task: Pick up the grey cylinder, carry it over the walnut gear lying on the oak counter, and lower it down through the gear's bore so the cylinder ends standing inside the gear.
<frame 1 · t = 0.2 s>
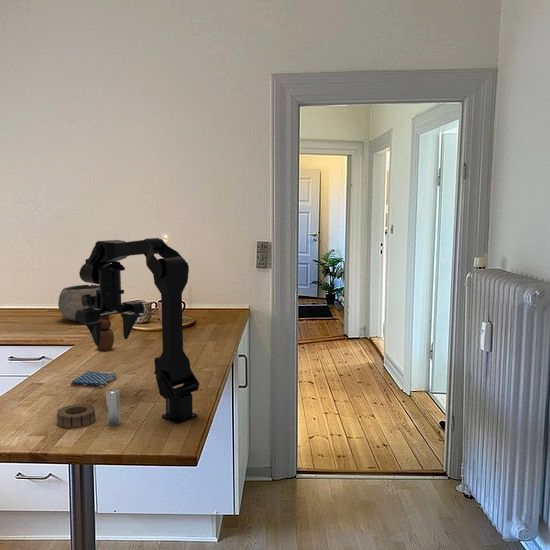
hand: (111, 342, 153), 14 cm above the worktop, fingers open, 9 cm apart
clay pot: (84, 320, 244), on the worktop
wooden figurine: (104, 349, 198), on the worktop
woven mat: (94, 384, 164), on the worktop
grey cylinder: (113, 423, 134), on the worktop
walnut gear: (76, 420, 135), on the worktop
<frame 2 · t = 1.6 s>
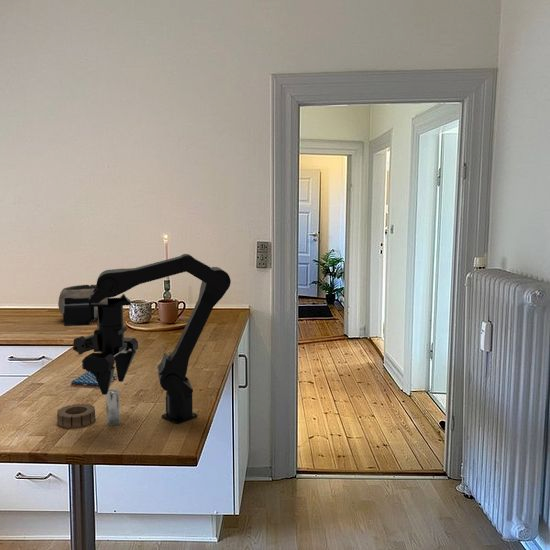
hand: (113, 387, 133), 9 cm above the worktop, fingers open, 9 cm apart
nothing on the worktop moved.
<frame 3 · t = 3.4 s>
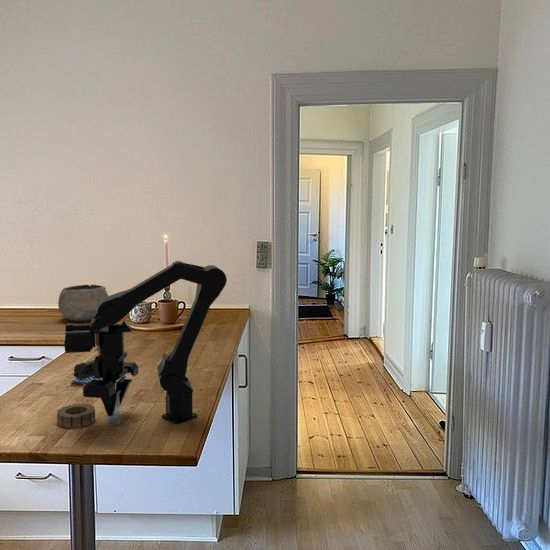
hand: (113, 413, 134), 3 cm above the worktop, fingers closed on grey cylinder, 3 cm apart
grey cylinder: (113, 423, 134), on the worktop, touching gripper
everything else where it was.
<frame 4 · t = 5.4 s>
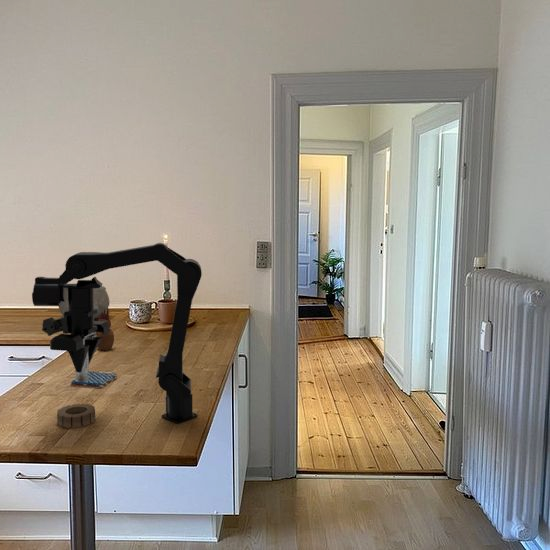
hand: (82, 370, 133), 13 cm above the worktop, fingers closed on grey cylinder, 3 cm apart
grey cylinder: (82, 380, 133), point 10 cm above the worktop, touching gripper
everything else where it was.
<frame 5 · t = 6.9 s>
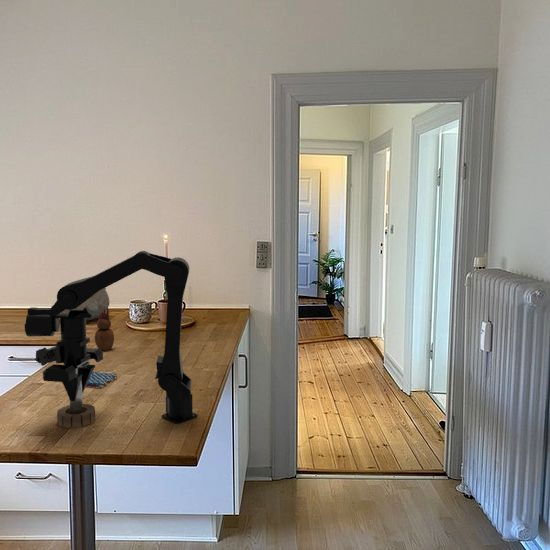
hand: (76, 398, 134), 6 cm above the worktop, fingers closed on grey cylinder, 3 cm apart
grey cylinder: (76, 408, 135), point 3 cm above the worktop, touching gripper
everything else where it was.
when the fingers open (4 cm above the worktop, at t = 7.8 s): grey cylinder drops 2 cm, resting in walnut gear.
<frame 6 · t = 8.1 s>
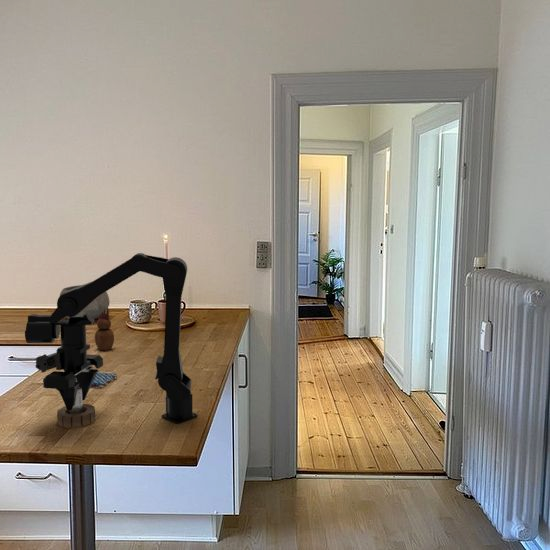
hand: (76, 404, 135), 4 cm above the worktop, fingers open, 6 cm apart
grey cylinder: (76, 420, 135), resting in walnut gear
everything else where it was.
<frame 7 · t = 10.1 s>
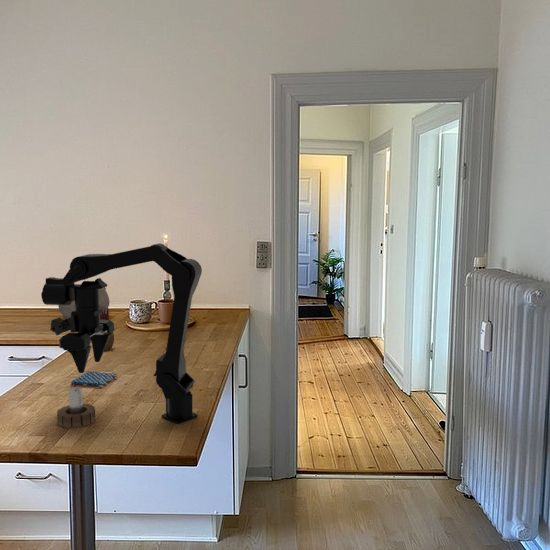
hand: (89, 367, 139), 12 cm above the worktop, fingers open, 9 cm apart
nothing on the worktop moved.
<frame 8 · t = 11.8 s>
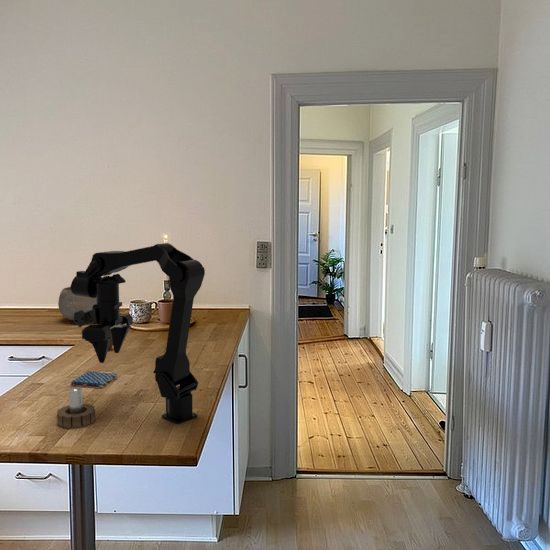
hand: (109, 357, 147), 12 cm above the worktop, fingers open, 9 cm apart
nothing on the worktop moved.
at the end: grey cylinder 0.0 cm from the walnut gear (horizontally); grey cylinder resting in walnut gear; grey cylinder tilted 0° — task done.
